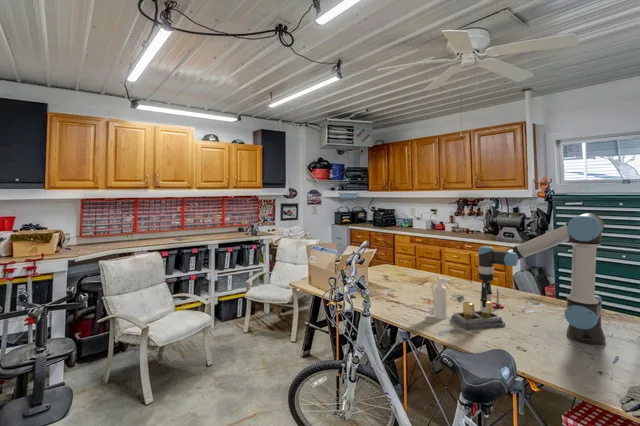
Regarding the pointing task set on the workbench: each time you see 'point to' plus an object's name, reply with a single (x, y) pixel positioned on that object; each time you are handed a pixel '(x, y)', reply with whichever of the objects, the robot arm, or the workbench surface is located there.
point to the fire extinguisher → (439, 299)
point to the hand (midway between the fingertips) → (486, 308)
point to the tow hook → (497, 302)
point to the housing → (475, 318)
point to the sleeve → (489, 310)
